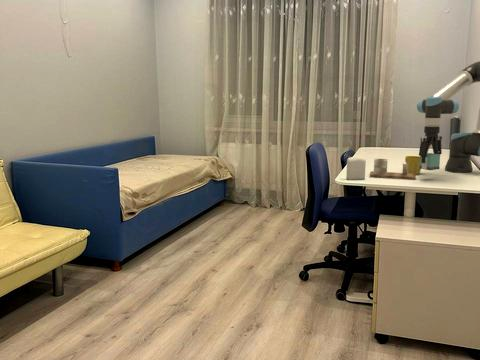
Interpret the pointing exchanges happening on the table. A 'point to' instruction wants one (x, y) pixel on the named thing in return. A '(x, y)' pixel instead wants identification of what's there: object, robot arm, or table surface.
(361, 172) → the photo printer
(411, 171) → the plant pot
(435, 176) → the table surface
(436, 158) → the teal sleeve
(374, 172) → the peg board
